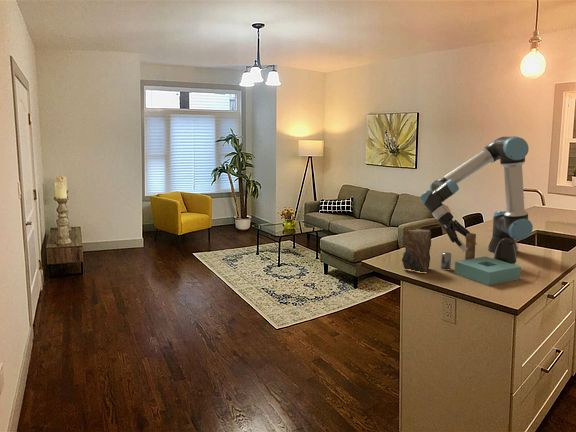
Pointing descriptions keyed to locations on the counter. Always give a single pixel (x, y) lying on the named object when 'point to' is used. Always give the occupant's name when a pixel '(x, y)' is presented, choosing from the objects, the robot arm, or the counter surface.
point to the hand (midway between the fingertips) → (470, 248)
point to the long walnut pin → (470, 246)
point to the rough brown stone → (417, 250)
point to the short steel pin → (446, 260)
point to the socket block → (487, 270)
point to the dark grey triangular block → (505, 251)
